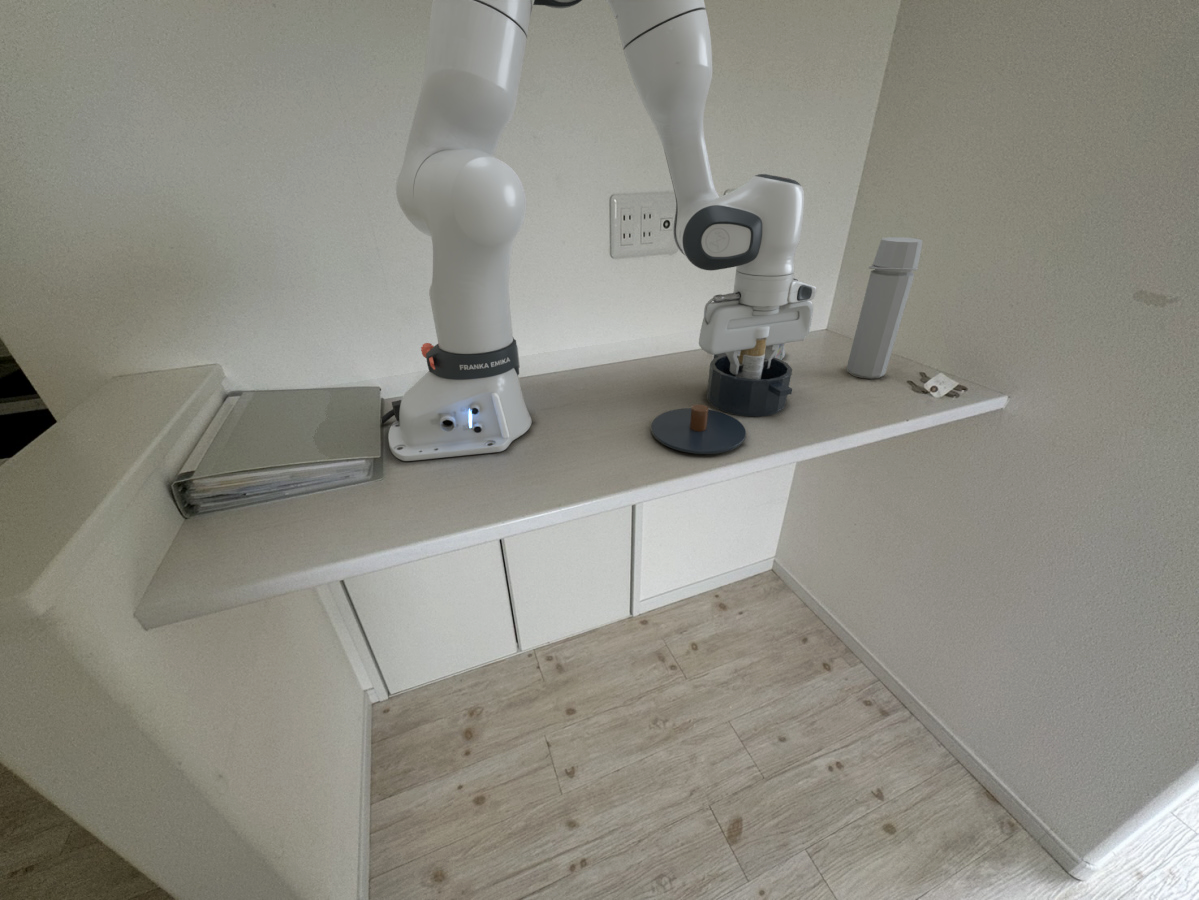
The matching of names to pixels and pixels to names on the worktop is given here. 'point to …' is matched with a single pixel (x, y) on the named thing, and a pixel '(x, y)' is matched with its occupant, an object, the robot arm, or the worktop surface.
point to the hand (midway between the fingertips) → (749, 370)
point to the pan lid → (698, 430)
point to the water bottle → (883, 306)
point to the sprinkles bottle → (754, 356)
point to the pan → (748, 388)
